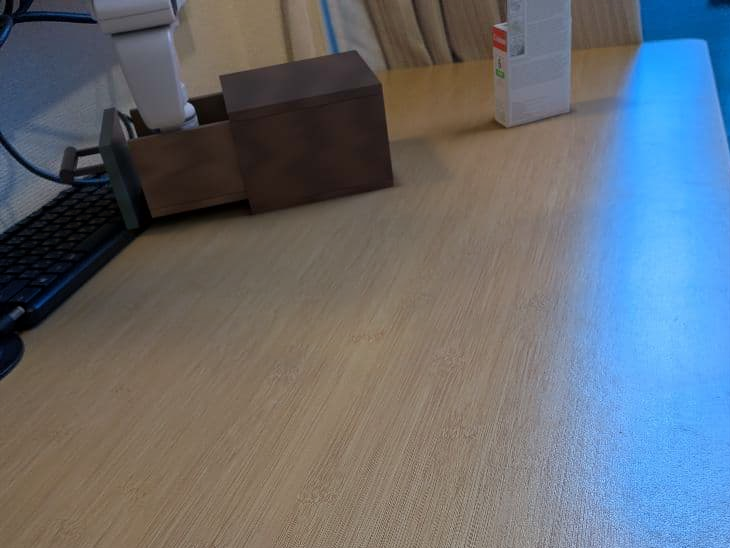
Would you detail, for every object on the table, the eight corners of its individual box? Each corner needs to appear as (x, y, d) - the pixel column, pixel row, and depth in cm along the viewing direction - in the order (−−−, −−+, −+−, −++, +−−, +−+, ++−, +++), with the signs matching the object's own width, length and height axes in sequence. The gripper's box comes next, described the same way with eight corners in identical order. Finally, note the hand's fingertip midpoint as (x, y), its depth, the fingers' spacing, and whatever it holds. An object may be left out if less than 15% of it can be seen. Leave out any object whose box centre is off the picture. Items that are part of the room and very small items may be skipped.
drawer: (77, 240, 81) (44, 157, 76) (85, 194, 90) (56, 118, 85) (261, 203, 83) (241, 119, 77) (250, 162, 92) (232, 84, 86)
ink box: (493, 122, 95) (488, -29, 85) (555, 106, 97) (557, -44, 87) (507, 130, 93) (504, -24, 82) (570, 114, 94) (574, -39, 84)
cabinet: (252, 216, 83) (227, 112, 76) (242, 171, 93) (218, 75, 86) (394, 188, 84) (382, 83, 77) (369, 145, 94) (356, 49, 87)
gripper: (104, -25, 81) (149, 124, 91) (93, 16, 67) (148, 189, 76) (167, -36, 82) (206, 113, 91) (170, 2, 67) (216, 175, 77)
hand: (180, 148), depth 84 cm, fingers closed on pill bottle, 5 cm apart
